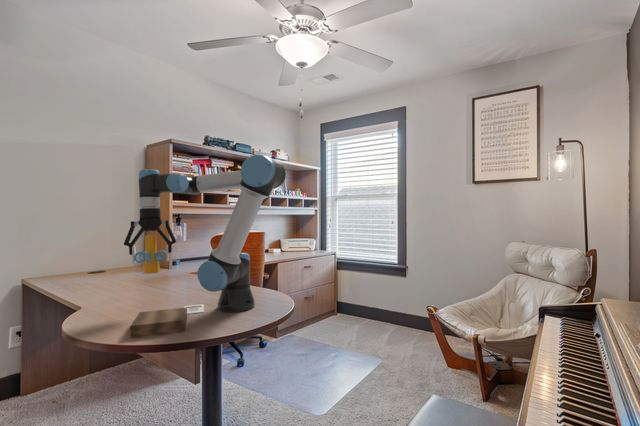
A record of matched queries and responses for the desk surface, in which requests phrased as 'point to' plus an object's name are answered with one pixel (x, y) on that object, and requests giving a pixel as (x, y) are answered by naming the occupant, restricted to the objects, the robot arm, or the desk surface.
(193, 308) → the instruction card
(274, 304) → the desk surface
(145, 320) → the base block
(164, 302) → the desk surface
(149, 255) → the yellow post with rings
